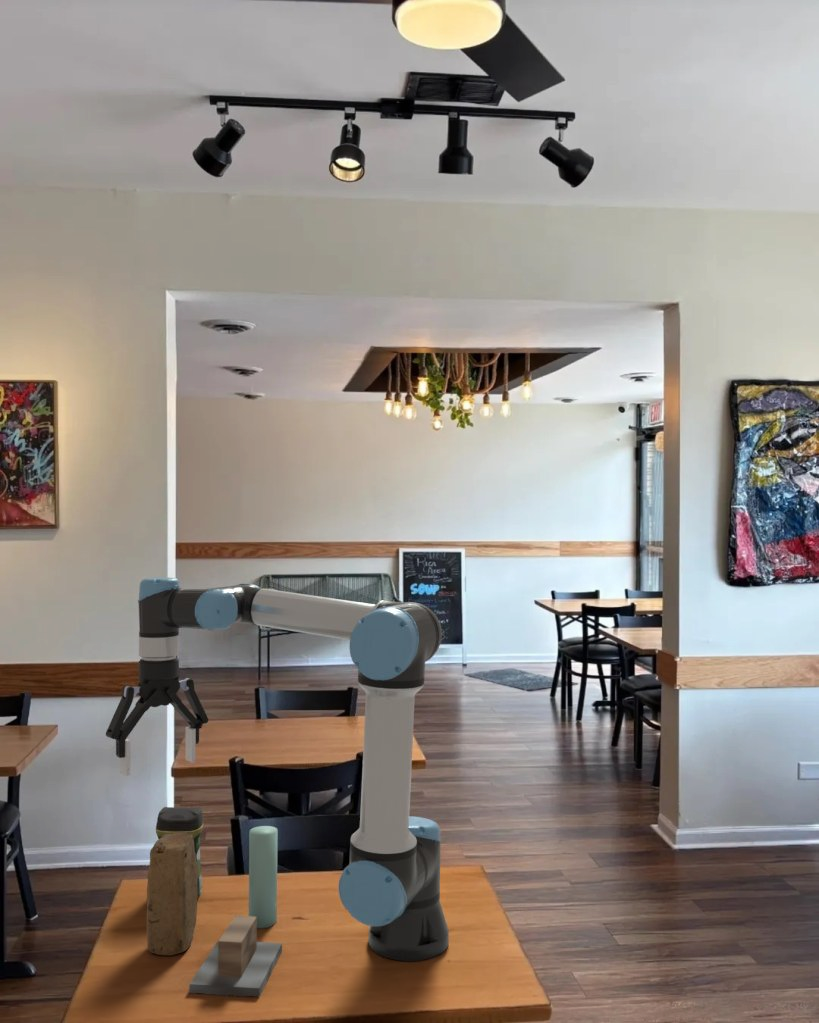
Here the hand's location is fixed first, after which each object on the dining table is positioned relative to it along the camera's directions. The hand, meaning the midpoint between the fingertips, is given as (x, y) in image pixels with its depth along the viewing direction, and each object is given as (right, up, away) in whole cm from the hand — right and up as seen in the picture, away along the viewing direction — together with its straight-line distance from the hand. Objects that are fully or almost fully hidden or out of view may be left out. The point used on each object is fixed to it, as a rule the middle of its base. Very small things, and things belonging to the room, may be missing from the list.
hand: (158, 767), depth 174 cm
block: (+4, -32, -6) cm, 32 cm away
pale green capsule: (+19, -32, +4) cm, 37 cm away
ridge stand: (+18, -31, -16) cm, 40 cm away
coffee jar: (0, -32, +15) cm, 35 cm away
